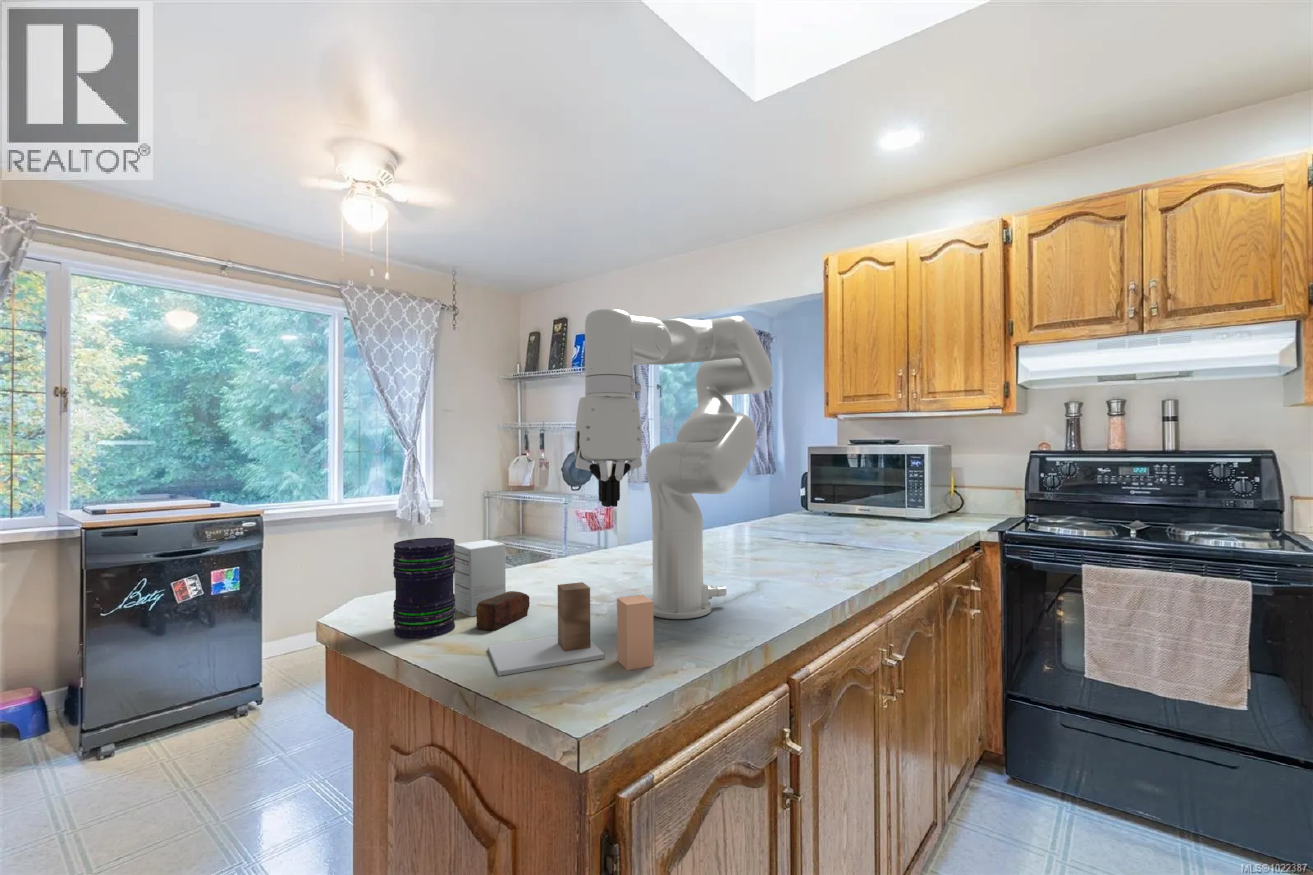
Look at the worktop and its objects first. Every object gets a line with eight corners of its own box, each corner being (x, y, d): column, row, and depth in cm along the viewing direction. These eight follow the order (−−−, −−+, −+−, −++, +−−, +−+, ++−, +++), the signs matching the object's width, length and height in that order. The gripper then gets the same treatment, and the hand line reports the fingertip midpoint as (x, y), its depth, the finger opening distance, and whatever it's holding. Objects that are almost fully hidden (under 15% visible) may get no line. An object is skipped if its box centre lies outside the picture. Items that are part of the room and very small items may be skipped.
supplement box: (489, 602, 115) (488, 538, 115) (506, 609, 109) (506, 543, 109) (453, 609, 110) (452, 543, 110) (469, 617, 104) (469, 548, 104)
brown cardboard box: (583, 639, 90) (582, 582, 90) (590, 647, 86) (590, 587, 86) (557, 643, 88) (557, 584, 88) (564, 651, 85) (564, 590, 85)
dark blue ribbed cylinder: (467, 623, 101) (466, 538, 101) (433, 641, 91) (433, 548, 92) (417, 619, 103) (417, 536, 103) (379, 637, 94) (379, 546, 94)
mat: (582, 635, 93) (582, 632, 93) (604, 658, 83) (604, 654, 83) (488, 649, 87) (487, 645, 87) (498, 675, 77) (498, 671, 77)
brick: (495, 632, 96) (495, 604, 96) (475, 630, 97) (475, 602, 97) (530, 615, 106) (530, 590, 106) (512, 613, 107) (512, 588, 107)
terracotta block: (643, 656, 84) (642, 594, 84) (653, 665, 81) (653, 601, 81) (617, 660, 83) (617, 598, 83) (627, 670, 79) (626, 604, 79)
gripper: (643, 393, 97) (644, 502, 96) (556, 390, 91) (556, 506, 90) (661, 389, 90) (662, 506, 89) (569, 385, 84) (569, 510, 83)
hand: (609, 505), depth 90 cm, fingers closed
